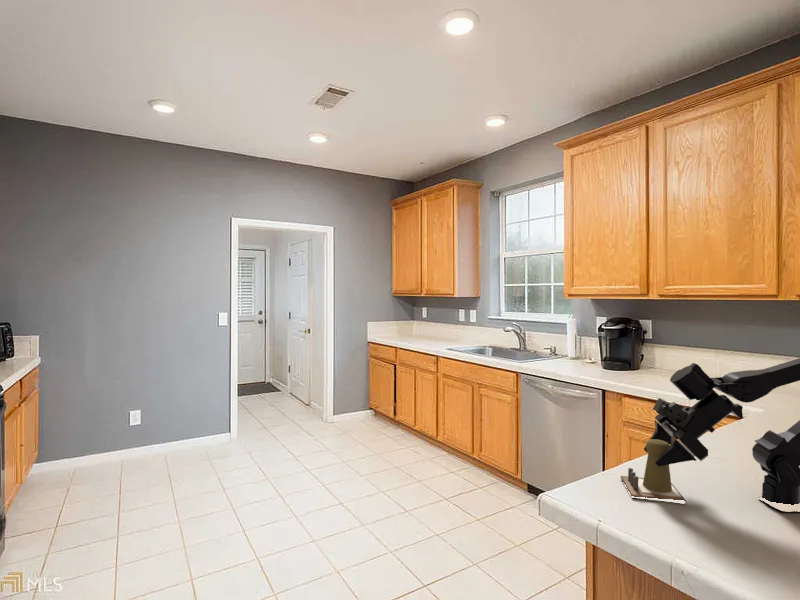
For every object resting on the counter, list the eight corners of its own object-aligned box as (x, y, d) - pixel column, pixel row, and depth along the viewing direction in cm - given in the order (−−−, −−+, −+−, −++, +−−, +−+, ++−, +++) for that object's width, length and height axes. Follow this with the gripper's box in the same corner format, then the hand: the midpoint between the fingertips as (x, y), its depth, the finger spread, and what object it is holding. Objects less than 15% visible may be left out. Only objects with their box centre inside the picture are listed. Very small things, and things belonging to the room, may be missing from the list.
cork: (673, 486, 108) (675, 440, 108) (670, 495, 103) (671, 446, 103) (645, 479, 112) (646, 435, 111) (640, 487, 107) (641, 441, 107)
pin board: (669, 484, 112) (669, 468, 112) (685, 504, 101) (686, 486, 101) (620, 479, 114) (621, 463, 114) (631, 498, 104) (632, 481, 104)
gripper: (664, 380, 115) (616, 420, 118) (692, 397, 97) (634, 443, 100) (699, 414, 113) (649, 454, 116) (734, 437, 95) (674, 483, 98)
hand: (650, 457), depth 108 cm, fingers open, 9 cm apart
